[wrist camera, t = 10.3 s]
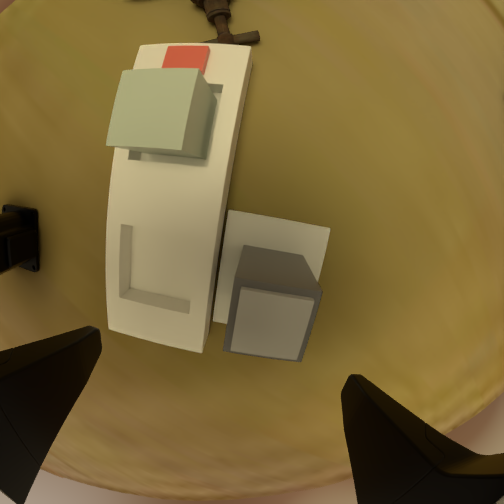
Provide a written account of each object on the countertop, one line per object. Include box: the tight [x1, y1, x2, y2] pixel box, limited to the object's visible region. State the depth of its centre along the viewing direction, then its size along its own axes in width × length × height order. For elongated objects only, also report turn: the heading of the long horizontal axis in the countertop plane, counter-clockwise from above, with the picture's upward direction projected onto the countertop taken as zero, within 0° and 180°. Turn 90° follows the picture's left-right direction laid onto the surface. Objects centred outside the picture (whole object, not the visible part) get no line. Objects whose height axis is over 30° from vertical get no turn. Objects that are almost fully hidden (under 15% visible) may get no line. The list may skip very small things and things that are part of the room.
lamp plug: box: [106, 68, 217, 160], centre depth 14 cm, size 4×4×6 cm
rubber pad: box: [213, 209, 330, 324], centre depth 21 cm, size 8×9×1 cm
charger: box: [223, 245, 322, 362], centre depth 17 cm, size 4×4×7 cm
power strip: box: [106, 43, 253, 353], centre depth 18 cm, size 22×8×4 cm, turn 170°
